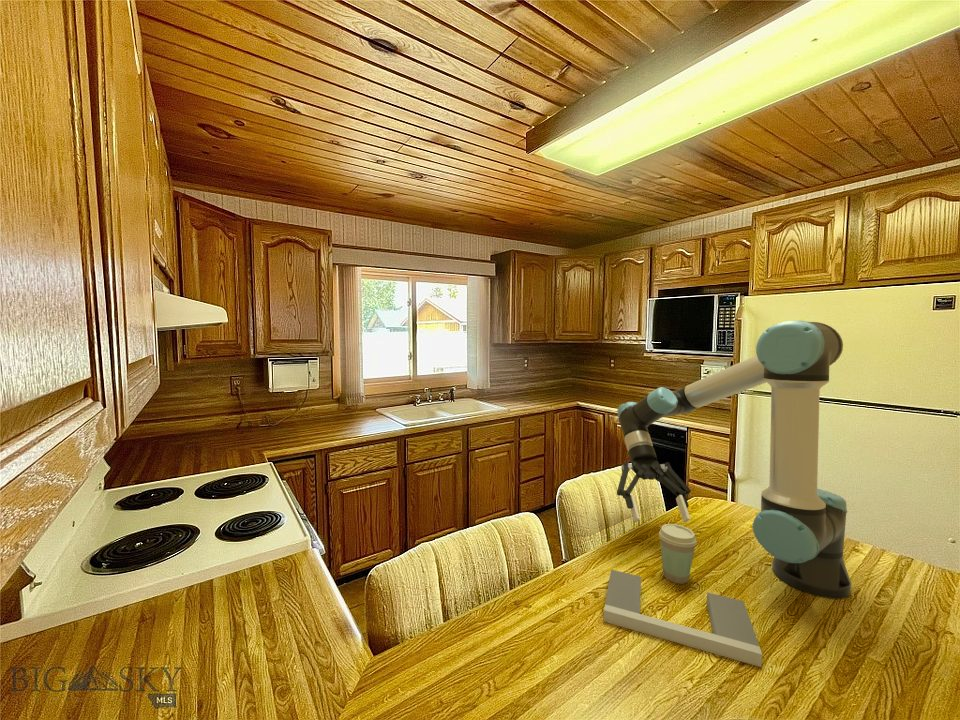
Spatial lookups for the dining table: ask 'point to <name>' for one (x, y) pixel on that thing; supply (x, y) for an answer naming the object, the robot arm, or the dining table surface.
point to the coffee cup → (677, 552)
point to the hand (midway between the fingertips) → (662, 520)
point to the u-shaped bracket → (726, 619)
